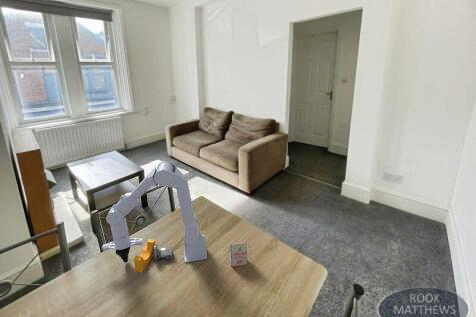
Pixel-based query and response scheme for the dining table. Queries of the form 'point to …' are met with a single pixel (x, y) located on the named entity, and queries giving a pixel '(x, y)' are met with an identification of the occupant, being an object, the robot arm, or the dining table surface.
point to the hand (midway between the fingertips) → (126, 260)
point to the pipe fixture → (163, 253)
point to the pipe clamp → (145, 256)
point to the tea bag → (238, 254)
